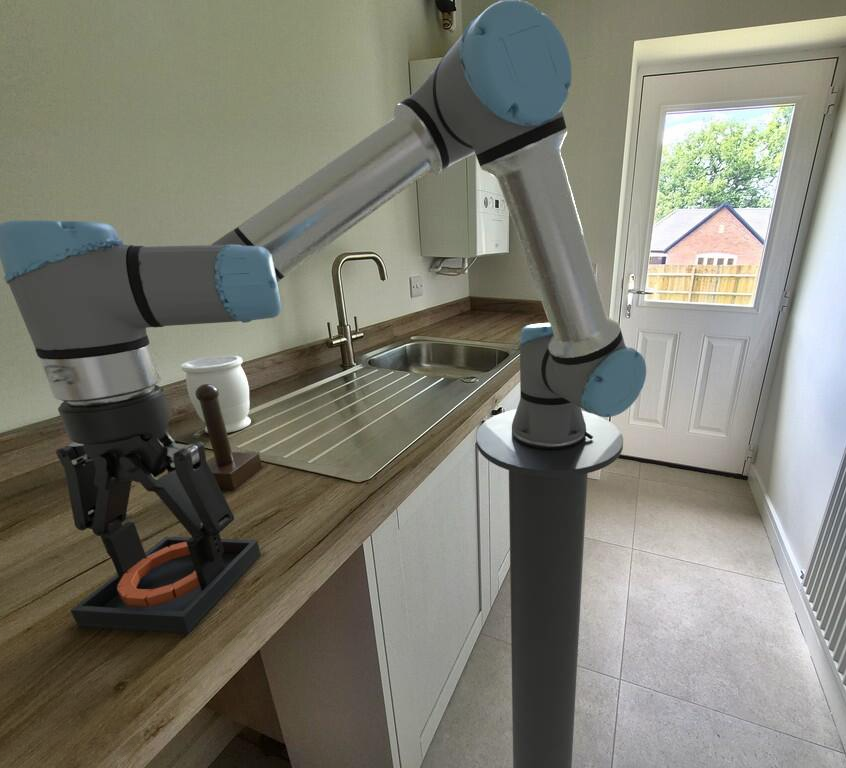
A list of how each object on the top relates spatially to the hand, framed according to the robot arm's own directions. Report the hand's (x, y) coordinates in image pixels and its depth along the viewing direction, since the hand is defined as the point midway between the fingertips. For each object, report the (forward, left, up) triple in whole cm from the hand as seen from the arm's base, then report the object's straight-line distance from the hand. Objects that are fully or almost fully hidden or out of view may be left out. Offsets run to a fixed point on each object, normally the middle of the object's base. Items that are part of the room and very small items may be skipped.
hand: (175, 578), depth 47 cm
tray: (0, 0, -1) cm, 1 cm away
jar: (+27, -43, -1) cm, 51 cm away
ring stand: (+11, -23, -1) cm, 26 cm away
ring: (0, 0, +1) cm, 1 cm away
